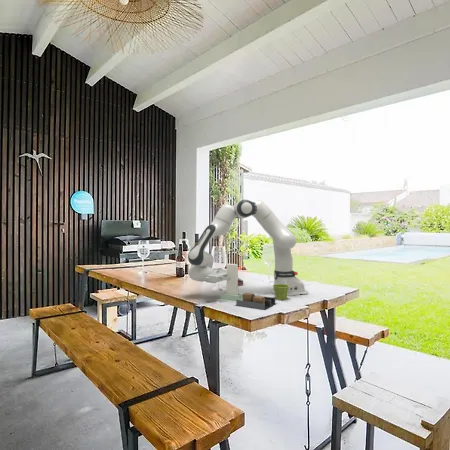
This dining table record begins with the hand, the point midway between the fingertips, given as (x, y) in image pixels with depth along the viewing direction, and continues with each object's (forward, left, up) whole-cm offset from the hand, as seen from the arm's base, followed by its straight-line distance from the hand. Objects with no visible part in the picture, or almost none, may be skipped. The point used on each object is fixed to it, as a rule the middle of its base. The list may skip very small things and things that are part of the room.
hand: (233, 277), depth 200 cm
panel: (+1, -1, -12) cm, 13 cm away
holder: (+1, -1, -14) cm, 14 cm away
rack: (-10, +13, -14) cm, 22 cm away
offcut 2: (-10, +17, -12) cm, 24 cm away
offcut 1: (-6, +14, -12) cm, 19 cm away
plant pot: (-28, +2, -14) cm, 31 cm away
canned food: (-11, -48, -14) cm, 52 cm away
